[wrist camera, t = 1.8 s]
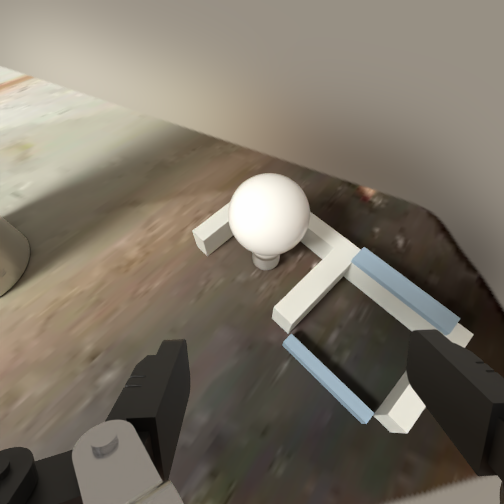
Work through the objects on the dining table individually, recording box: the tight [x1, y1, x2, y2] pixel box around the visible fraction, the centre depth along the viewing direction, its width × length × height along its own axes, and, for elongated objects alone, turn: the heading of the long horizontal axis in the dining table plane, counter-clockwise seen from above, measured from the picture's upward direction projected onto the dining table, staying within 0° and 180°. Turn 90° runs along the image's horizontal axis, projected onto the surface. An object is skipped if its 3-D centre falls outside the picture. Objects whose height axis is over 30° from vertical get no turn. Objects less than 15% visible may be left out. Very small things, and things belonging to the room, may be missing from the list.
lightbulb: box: [228, 173, 310, 270], centre depth 26 cm, size 6×6×11 cm
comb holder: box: [193, 202, 474, 433], centre depth 28 cm, size 23×11×4 cm, turn 45°
